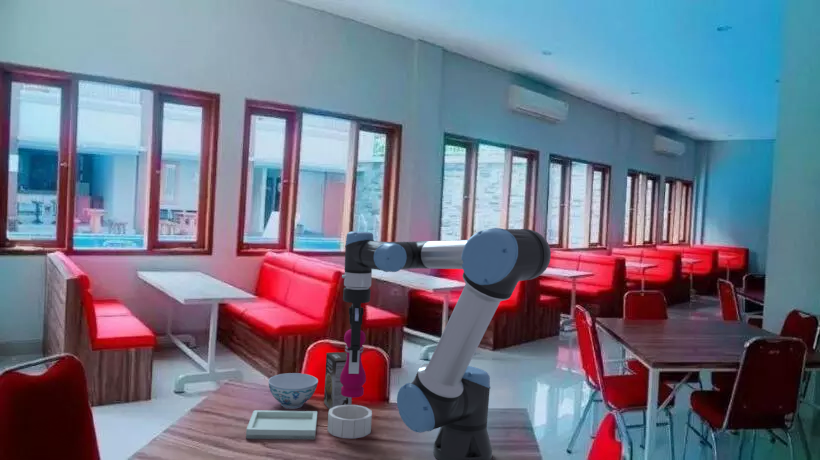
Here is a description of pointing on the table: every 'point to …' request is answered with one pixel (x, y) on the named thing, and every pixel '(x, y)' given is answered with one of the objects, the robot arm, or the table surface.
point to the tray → (282, 425)
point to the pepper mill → (353, 381)
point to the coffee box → (335, 380)
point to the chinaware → (292, 389)
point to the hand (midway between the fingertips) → (353, 369)
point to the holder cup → (349, 421)
